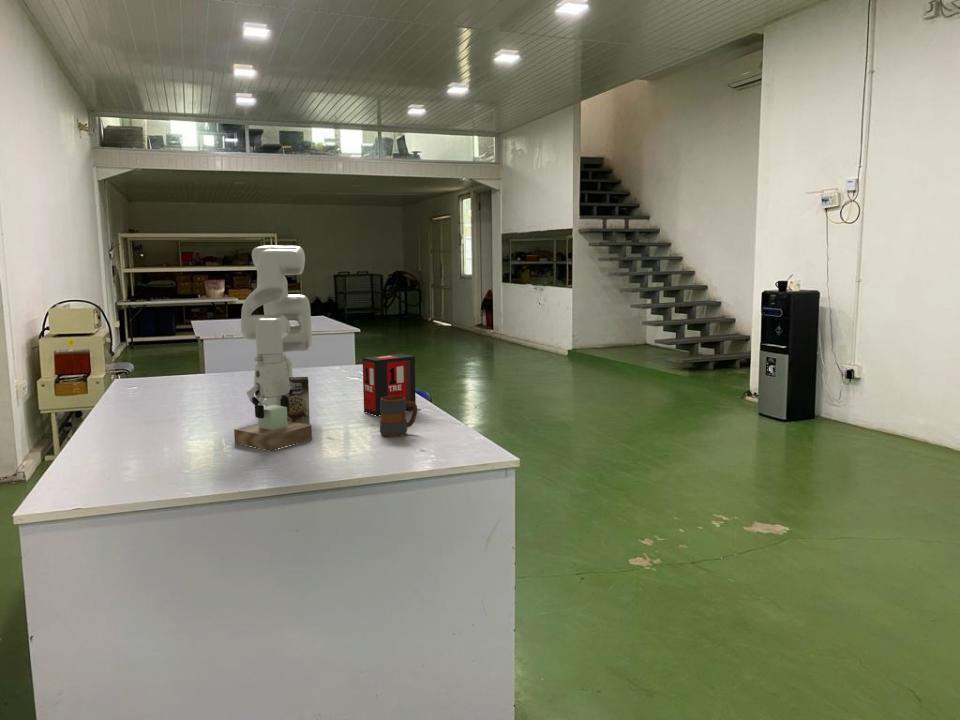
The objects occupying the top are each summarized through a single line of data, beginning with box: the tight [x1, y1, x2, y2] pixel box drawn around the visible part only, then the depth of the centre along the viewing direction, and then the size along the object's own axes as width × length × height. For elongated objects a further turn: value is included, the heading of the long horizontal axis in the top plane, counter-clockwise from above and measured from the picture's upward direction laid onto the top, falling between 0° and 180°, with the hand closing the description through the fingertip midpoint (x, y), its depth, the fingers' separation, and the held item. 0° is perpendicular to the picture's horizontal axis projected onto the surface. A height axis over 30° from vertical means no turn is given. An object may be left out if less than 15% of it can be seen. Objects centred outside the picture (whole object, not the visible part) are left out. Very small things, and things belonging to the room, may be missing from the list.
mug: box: [379, 396, 418, 437], centre depth 222 cm, size 9×12×12 cm
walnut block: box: [233, 421, 313, 452], centre depth 214 cm, size 16×16×5 cm
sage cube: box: [257, 405, 288, 430], centre depth 213 cm, size 6×6×6 cm
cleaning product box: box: [362, 353, 417, 417], centre depth 255 cm, size 16×9×20 cm, turn 129°
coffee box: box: [281, 376, 311, 425], centre depth 233 cm, size 9×6×16 cm
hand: (272, 414), depth 213 cm, fingers open, 9 cm apart
